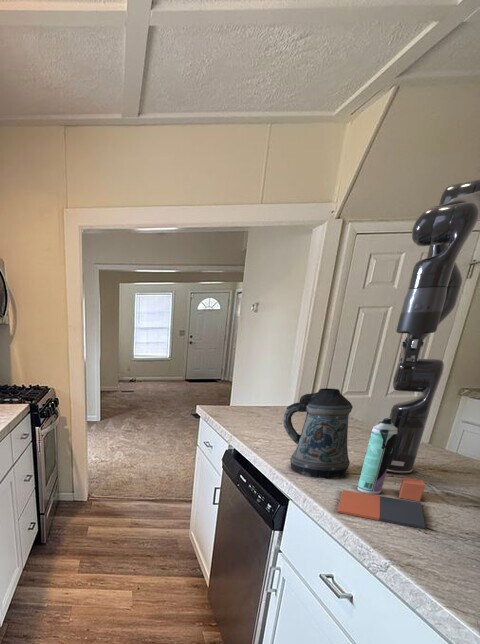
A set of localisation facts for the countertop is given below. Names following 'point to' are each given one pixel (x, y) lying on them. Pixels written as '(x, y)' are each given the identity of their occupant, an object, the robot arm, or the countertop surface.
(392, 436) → the spray can
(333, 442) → the beer stein
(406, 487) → the terracotta block
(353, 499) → the sorting mat
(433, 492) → the countertop surface
